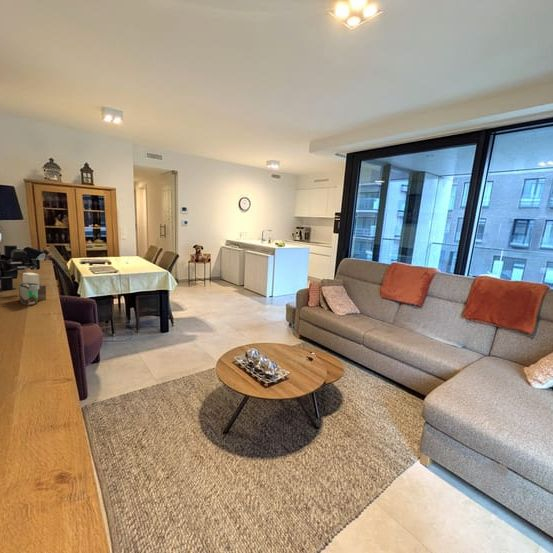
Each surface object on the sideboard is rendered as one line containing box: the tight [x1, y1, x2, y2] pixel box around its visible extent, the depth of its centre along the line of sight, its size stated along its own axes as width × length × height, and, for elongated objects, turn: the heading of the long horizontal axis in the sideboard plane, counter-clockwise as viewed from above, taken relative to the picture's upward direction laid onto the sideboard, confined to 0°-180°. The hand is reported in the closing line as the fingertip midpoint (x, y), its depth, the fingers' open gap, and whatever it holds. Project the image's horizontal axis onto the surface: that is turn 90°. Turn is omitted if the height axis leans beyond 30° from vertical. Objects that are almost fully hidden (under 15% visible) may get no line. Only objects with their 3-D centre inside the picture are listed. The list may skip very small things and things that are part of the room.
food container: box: [18, 282, 40, 307], centre depth 154 cm, size 12×6×10 cm, turn 58°
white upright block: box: [22, 272, 40, 285], centre depth 161 cm, size 8×4×14 cm, turn 62°
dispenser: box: [18, 283, 47, 302], centre depth 159 cm, size 5×10×8 cm, turn 152°
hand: (27, 266), depth 166 cm, fingers open, 9 cm apart
